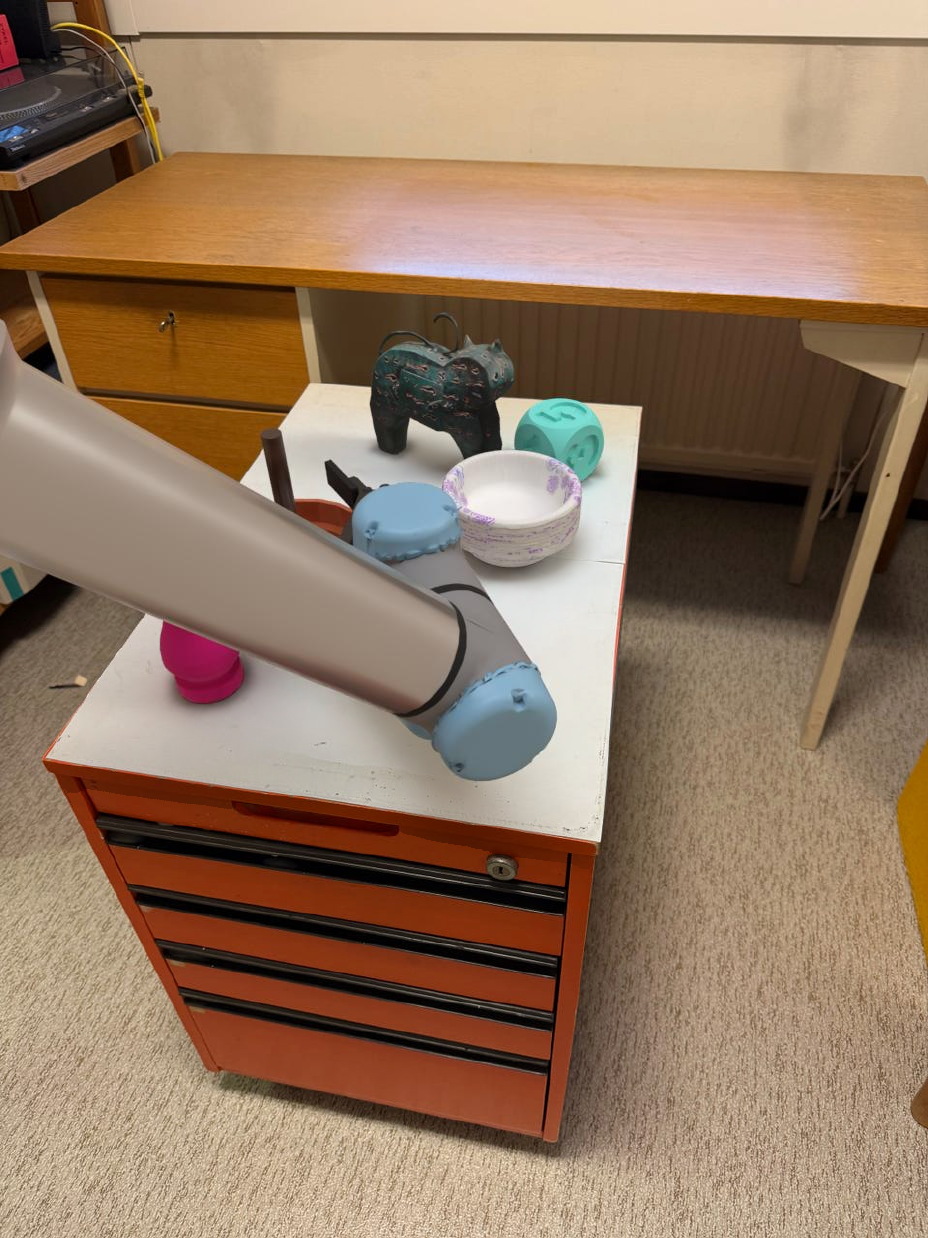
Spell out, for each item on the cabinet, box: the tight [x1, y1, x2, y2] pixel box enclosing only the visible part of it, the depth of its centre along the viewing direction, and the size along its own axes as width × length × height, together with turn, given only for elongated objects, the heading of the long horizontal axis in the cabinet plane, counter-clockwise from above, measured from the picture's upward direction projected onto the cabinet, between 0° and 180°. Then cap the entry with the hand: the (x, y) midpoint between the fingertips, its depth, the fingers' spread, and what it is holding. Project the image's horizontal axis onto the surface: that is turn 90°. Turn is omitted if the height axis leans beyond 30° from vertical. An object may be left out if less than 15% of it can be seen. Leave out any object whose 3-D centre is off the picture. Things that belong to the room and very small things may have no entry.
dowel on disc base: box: [259, 427, 297, 515], centre depth 89 cm, size 6×6×18 cm
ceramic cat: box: [369, 312, 515, 461], centre depth 107 cm, size 20×6×20 cm, turn 54°
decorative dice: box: [513, 397, 605, 482], centre depth 109 cm, size 8×8×8 cm
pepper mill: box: [159, 620, 245, 704], centre depth 78 cm, size 7×7×20 cm
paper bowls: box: [441, 449, 583, 568], centre depth 97 cm, size 15×15×8 cm
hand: (271, 490), depth 91 cm, fingers open, 12 cm apart
